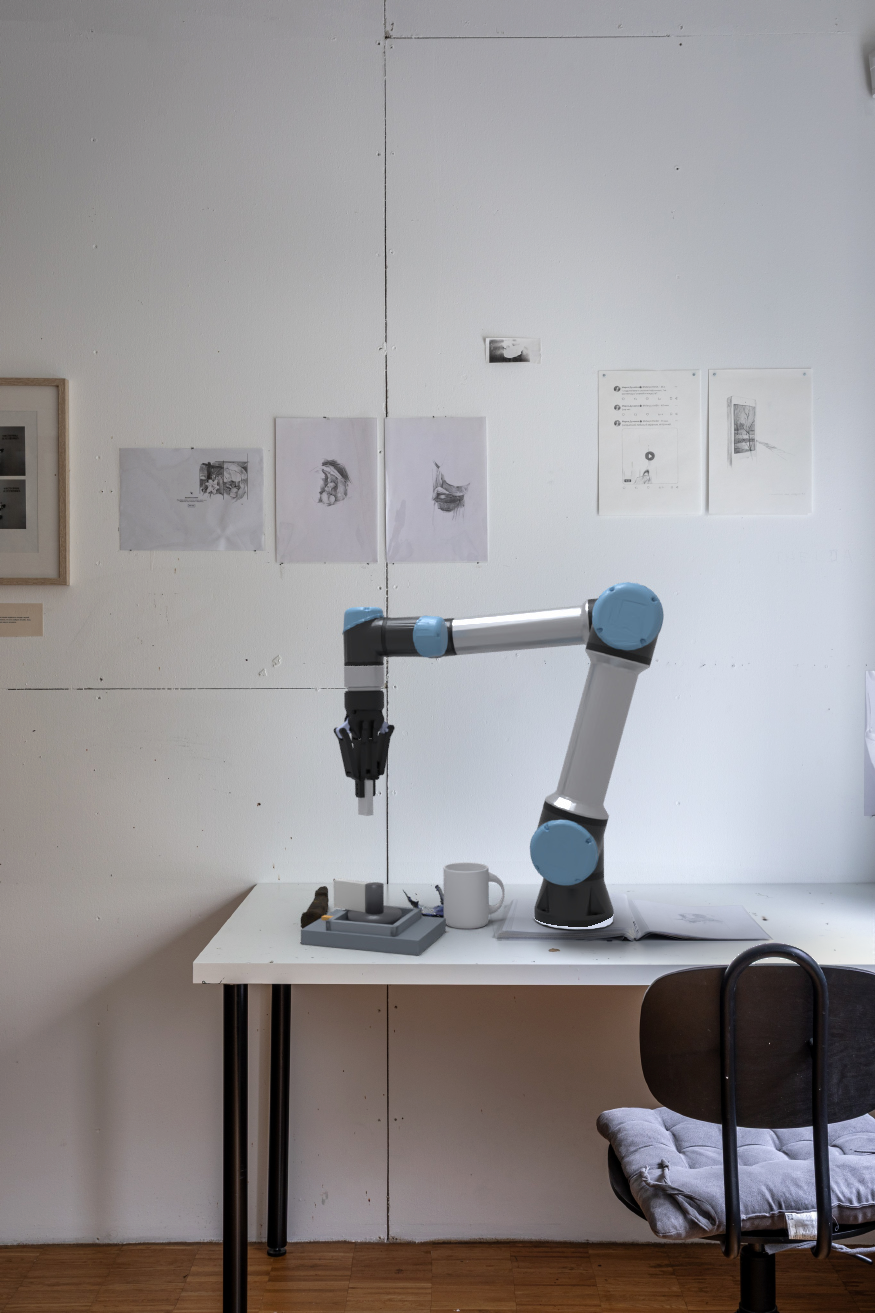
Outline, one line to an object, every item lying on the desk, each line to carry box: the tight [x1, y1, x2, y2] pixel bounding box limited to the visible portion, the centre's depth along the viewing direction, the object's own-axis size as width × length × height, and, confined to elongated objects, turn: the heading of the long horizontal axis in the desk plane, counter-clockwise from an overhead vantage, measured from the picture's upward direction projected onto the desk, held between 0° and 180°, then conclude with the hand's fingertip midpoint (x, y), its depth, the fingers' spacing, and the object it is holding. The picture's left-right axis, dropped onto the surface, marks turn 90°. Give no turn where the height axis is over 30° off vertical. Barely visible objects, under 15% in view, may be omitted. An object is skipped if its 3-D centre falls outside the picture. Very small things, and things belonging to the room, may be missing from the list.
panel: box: [300, 904, 447, 956], centre depth 168 cm, size 22×15×4 cm
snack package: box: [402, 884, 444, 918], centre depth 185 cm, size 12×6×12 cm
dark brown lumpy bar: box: [300, 885, 329, 929], centre depth 182 cm, size 19×4×5 cm, turn 177°
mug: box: [443, 862, 505, 930], centre depth 178 cm, size 9×12×11 cm
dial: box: [333, 877, 401, 925], centre depth 169 cm, size 13×10×7 cm
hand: (365, 814), depth 176 cm, fingers closed
